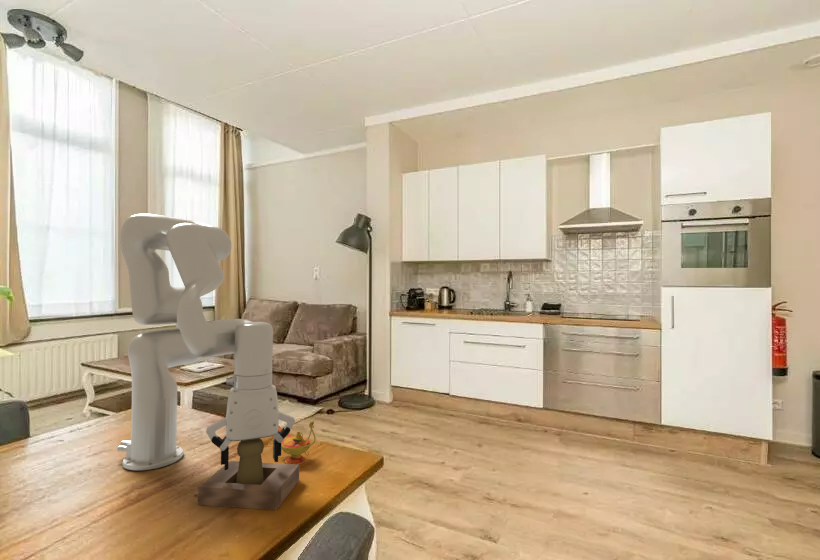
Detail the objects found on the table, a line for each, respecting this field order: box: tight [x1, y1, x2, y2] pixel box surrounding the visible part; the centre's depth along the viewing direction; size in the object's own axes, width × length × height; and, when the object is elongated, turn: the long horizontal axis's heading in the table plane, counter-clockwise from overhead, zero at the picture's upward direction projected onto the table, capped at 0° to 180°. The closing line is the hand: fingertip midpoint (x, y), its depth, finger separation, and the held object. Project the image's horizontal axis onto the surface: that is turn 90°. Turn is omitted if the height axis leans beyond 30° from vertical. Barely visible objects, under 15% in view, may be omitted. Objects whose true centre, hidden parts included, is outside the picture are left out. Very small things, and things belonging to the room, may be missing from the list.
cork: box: [236, 438, 265, 485], centre depth 85 cm, size 6×6×11 cm
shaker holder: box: [197, 460, 300, 511], centre depth 85 cm, size 16×12×4 cm
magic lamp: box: [278, 420, 317, 465], centre depth 102 cm, size 7×18×11 cm, turn 52°
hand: (251, 463), depth 85 cm, fingers open, 9 cm apart
